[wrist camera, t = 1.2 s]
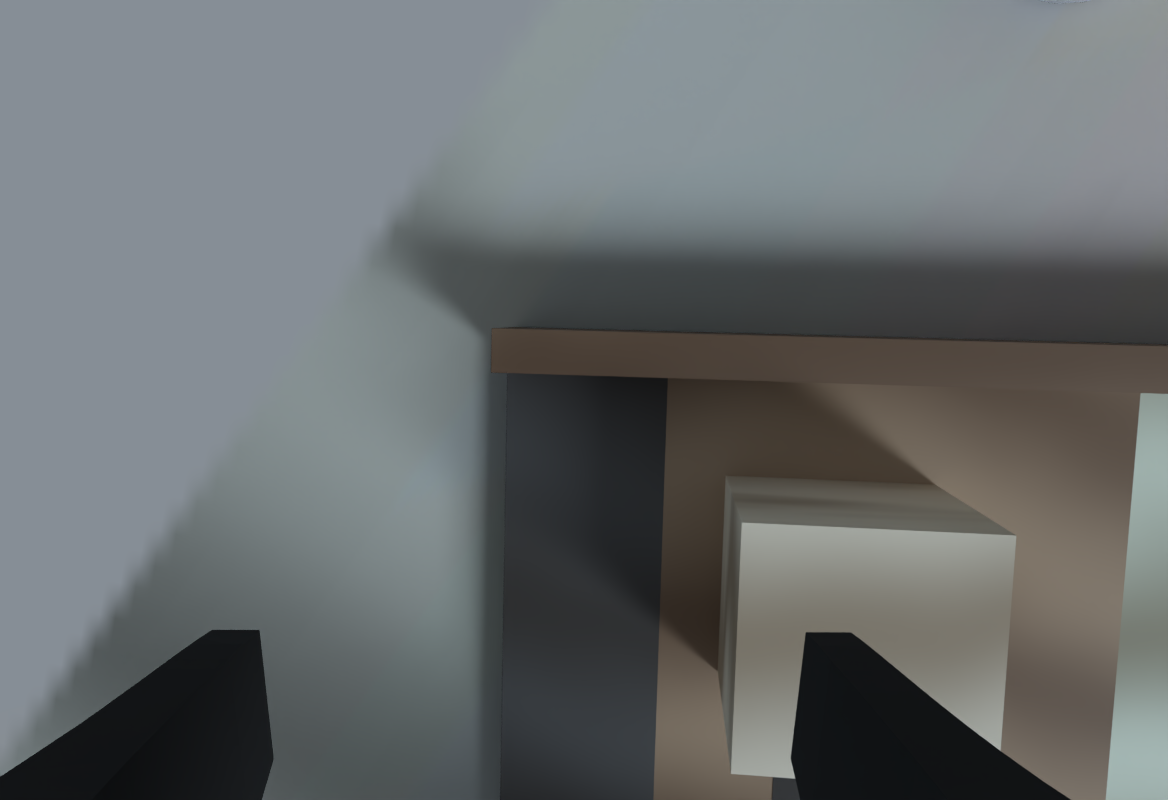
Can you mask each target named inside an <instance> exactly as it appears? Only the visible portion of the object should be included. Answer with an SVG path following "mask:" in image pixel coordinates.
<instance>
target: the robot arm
mask: <svg viewBox="0 0 1168 800" xmlns="http://www.w3.org/2000/svg"><path fill="white" fill-rule="evenodd" d="M791 762H792V767H793V771H794V775H795V780H796V784H797V788H798V792H799V797H800V800H1071V799H1069V798H1068V797H1066V796H1065V795H1063V794H1062V793H1060V792H1059V791H1057V790H1056V789H1054V788H1053V787H1051V786H1050V785H1048V784H1047V783H1045V782H1044V781H1042V780H1041V779H1039V778H1038V777H1037V776H1035V775H1034V774H1032V773H1031V772H1030V771H1028V770H1027V769H1025V768H1024V767H1022V766H1021V765H1020V764H1018V763H1017V762H1015V761H1014V760H1013V759H1011V758H1010V757H1008V756H1007V755H1006V754H1004V753H1003V752H1001V751H1000V750H999V749H997V748H996V747H995V746H993V745H992V744H991V743H989V742H988V741H987V740H985V739H984V738H983V737H981V736H980V735H979V734H977V733H976V732H975V731H973V730H972V729H971V728H969V727H968V726H967V725H966V724H964V723H963V722H962V721H960V720H959V719H958V718H957V717H955V716H954V715H953V714H952V713H950V712H949V711H948V710H947V709H945V708H944V707H943V706H942V705H940V704H939V703H938V702H937V701H935V700H934V699H933V698H932V697H930V696H929V695H928V694H927V693H926V692H924V691H923V690H922V689H921V688H919V687H918V686H917V685H916V684H915V683H913V682H912V681H911V680H910V679H908V678H907V677H906V676H905V675H904V674H902V673H901V672H900V671H899V670H898V669H896V668H895V667H894V666H893V665H892V664H890V663H889V662H888V661H887V660H886V659H884V658H883V657H882V656H881V655H879V654H878V653H877V652H876V651H875V650H873V649H872V648H871V647H870V646H868V645H867V644H866V643H865V642H863V641H862V640H861V639H859V638H858V637H857V636H855V635H854V634H853V633H851V632H806V634H805V642H804V650H803V659H802V667H801V675H800V684H799V692H798V700H797V709H796V717H795V725H794V734H793V742H792V750H791ZM272 763H273V749H272V740H271V731H270V722H269V713H268V704H267V695H266V686H265V676H264V667H263V658H262V649H261V640H260V631H259V630H212V631H210V632H208V633H207V634H205V635H204V636H202V637H201V638H199V639H198V640H196V641H195V642H193V643H192V644H190V645H189V646H188V647H186V648H185V649H183V650H182V651H181V652H179V653H178V654H176V655H175V656H174V657H172V658H171V659H170V660H168V661H167V662H166V663H164V664H163V665H161V666H160V667H159V668H157V669H156V670H155V671H153V672H152V673H151V674H149V675H148V676H146V677H145V678H144V679H142V680H141V681H140V682H138V683H137V684H135V685H134V686H133V687H131V688H130V689H128V690H127V691H126V692H124V693H123V694H122V695H120V696H119V697H117V698H116V699H115V700H113V701H112V702H110V703H109V704H108V705H106V706H105V707H103V708H102V709H101V710H99V711H98V712H96V713H95V714H94V715H92V716H91V717H89V718H88V719H87V720H85V721H84V722H82V723H81V724H79V725H78V726H76V727H75V728H73V729H72V730H70V731H69V732H67V733H66V734H64V735H63V736H61V737H60V738H58V739H57V740H55V741H54V742H52V743H51V744H49V745H48V746H46V747H45V748H43V749H42V750H40V751H39V752H37V753H36V754H34V755H33V756H31V757H30V758H28V759H27V760H25V761H24V762H22V763H21V764H19V765H18V766H16V767H14V768H13V769H11V770H10V771H8V772H7V773H5V774H4V775H2V776H1V777H0V800H262V797H263V793H264V790H265V786H266V783H267V780H268V776H269V773H270V769H271V766H272Z"/></svg>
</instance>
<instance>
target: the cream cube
mask: <svg viewBox="0 0 1168 800" xmlns="http://www.w3.org/2000/svg"><path fill="white" fill-rule="evenodd" d="M1015 548H1016V535H1015V534H1013V533H1012V532H1010V531H1008V530H1007V529H1005V528H1004V527H1002V526H1000V525H999V524H997V523H996V522H994V521H992V520H991V519H989V518H988V517H986V516H984V515H983V514H981V513H980V512H978V511H976V510H975V509H973V508H972V507H970V506H969V505H967V504H965V503H964V502H962V501H961V500H959V499H957V498H956V497H954V496H953V495H951V494H949V493H948V492H946V491H945V490H943V489H941V488H940V487H938V486H937V485H935V484H911V483H888V482H864V481H840V480H817V479H793V478H769V477H746V476H726V479H725V503H724V527H723V552H722V576H721V601H720V625H719V649H718V678H719V686H720V694H721V701H722V709H723V717H724V724H725V732H726V740H727V747H728V755H729V763H730V770H731V774H739V775H753V776H766V777H779V778H793V779H795V775H794V771H793V767H792V762H791V750H792V742H793V734H794V725H795V717H796V709H797V700H798V692H799V684H800V675H801V667H802V659H803V650H804V642H805V634H806V632H851V633H853V634H854V635H855V636H857V637H858V638H859V639H861V640H862V641H863V642H865V643H866V644H867V645H868V646H870V647H871V648H872V649H873V650H875V651H876V652H877V653H878V654H879V655H881V656H882V657H883V658H884V659H886V660H887V661H888V662H889V663H890V664H892V665H893V666H894V667H895V668H896V669H898V670H899V671H900V672H901V673H902V674H904V675H905V676H906V677H907V678H908V679H910V680H911V681H912V682H913V683H915V684H916V685H917V686H918V687H919V688H921V689H922V690H923V691H924V692H926V693H927V694H928V695H929V696H930V697H932V698H933V699H934V700H935V701H937V702H938V703H939V704H940V705H942V706H943V707H944V708H945V709H947V710H948V711H949V712H950V713H952V714H953V715H954V716H955V717H957V718H958V719H959V720H960V721H962V722H963V723H964V724H966V725H967V726H968V727H969V728H971V729H972V730H973V731H975V732H976V733H977V734H979V735H980V736H981V737H983V738H984V739H985V740H987V741H988V742H989V743H991V744H992V745H993V746H995V747H996V748H997V749H999V750H1000V751H1001V738H1002V724H1003V711H1004V697H1005V684H1006V670H1007V657H1008V643H1009V629H1010V616H1011V602H1012V589H1013V575H1014V561H1015Z"/></svg>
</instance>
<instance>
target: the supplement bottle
mask: <svg viewBox="0 0 1168 800" xmlns="http://www.w3.org/2000/svg"><path fill="white" fill-rule="evenodd" d="M1040 1H1044V2H1049V3H1074V2H1085V1H1089V0H1040Z"/></svg>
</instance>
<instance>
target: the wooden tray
mask: <svg viewBox="0 0 1168 800" xmlns="http://www.w3.org/2000/svg"><path fill="white" fill-rule="evenodd" d="M491 373H507V429H506V489H505V548H504V608H503V668H502V728H501V787H500V800H800V797H799V792H798V788H797V784H796V780H795V779H793V778H779V777H766V776H753V775H739V774H731V770H730V763H729V755H728V747H727V740H726V732H725V724H724V717H723V709H722V701H721V694H720V686H719V678H718V649H719V625H720V601H721V576H722V552H723V527H724V503H725V479H726V476H746V477H769V478H793V479H817V480H840V481H864V482H888V483H911V484H935V485H937V486H938V487H940V488H941V489H943V490H945V491H946V492H948V493H949V494H951V495H953V496H954V497H956V498H957V499H959V500H961V501H962V502H964V503H965V504H967V505H969V506H970V507H972V508H973V509H975V510H976V511H978V512H980V513H981V514H983V515H984V516H986V517H988V518H989V519H991V520H992V521H994V522H996V523H997V524H999V525H1000V526H1002V527H1004V528H1005V529H1007V530H1008V531H1010V532H1012V533H1013V534H1015V535H1016V548H1015V561H1014V575H1013V589H1012V602H1011V616H1010V629H1009V643H1008V657H1007V670H1006V684H1005V697H1004V711H1003V724H1002V738H1001V752H1003V753H1004V754H1006V755H1007V756H1008V757H1010V758H1011V759H1013V760H1014V761H1015V762H1017V763H1018V764H1020V765H1021V766H1022V767H1024V768H1025V769H1027V770H1028V771H1030V772H1031V773H1032V774H1034V775H1035V776H1037V777H1038V778H1039V779H1041V780H1042V781H1044V782H1045V783H1047V784H1048V785H1050V786H1051V787H1053V788H1054V789H1056V790H1057V791H1059V792H1060V793H1062V794H1063V795H1065V796H1066V797H1068V798H1069V799H1071V800H1168V344H1131V343H1093V342H1055V341H1018V340H980V339H942V338H904V337H867V336H829V335H791V334H754V333H716V332H678V331H641V330H603V329H565V328H527V327H509V328H492V345H491Z"/></svg>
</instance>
